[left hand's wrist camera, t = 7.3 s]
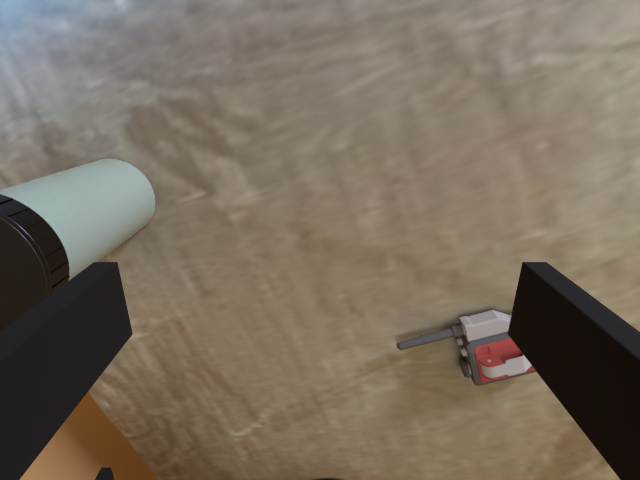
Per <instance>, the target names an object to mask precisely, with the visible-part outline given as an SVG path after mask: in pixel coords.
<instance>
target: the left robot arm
mask: <svg viewBox="0 0 640 480" xmlns="http://www.w3.org/2000/svg"><path fill="white" fill-rule="evenodd" d="M131 335H132V329H131V325H130V320H129V315H128V310H127V306H126V301H125V296H124V291H123V287H122V282H121V277H120V273H119V268H118V263H117V262H93V263H92V264H91V265H89V266H88V267H87V268H85V269H84V270H83V271H81V272H80V273H79V274H77V275H76V276H75V277H73V278H72V279H71V280H69V281H68V282H67V283H65V284H64V285H63V286H61V287H60V288H59V289H57V290H56V291H55V292H53V293H52V294H51V295H49V296H48V297H47V298H45V299H44V300H43V301H41V302H40V303H39V304H37V305H36V306H35V307H33V308H32V309H31V310H29V311H28V312H27V313H25V314H24V315H23V316H21V317H20V318H19V319H17V320H16V321H14V322H13V323H12V324H10V325H9V326H8V327H6V328H5V329H4V330H2V331H1V332H0V480H19V479H20V478H21V477H22V476H23V474H24V473H25V472H26V470H27V469H28V468H29V467H30V465H31V464H32V463H33V461H34V460H35V459H36V458H37V456H38V455H39V454H40V452H41V451H42V450H43V449H44V447H45V446H46V445H47V443H48V442H49V441H50V439H51V438H52V437H53V436H54V434H55V433H56V432H57V430H58V429H59V428H60V427H61V425H62V424H63V423H64V422H65V420H66V419H67V418H68V416H69V415H70V414H71V412H72V411H73V410H74V409H75V407H76V406H77V405H78V403H79V402H80V401H81V400H82V398H83V397H84V396H85V394H86V393H87V392H88V391H89V389H90V388H91V387H92V385H93V384H94V383H95V382H96V380H97V379H98V378H99V376H100V375H101V374H102V373H103V371H104V370H105V369H106V367H107V366H108V365H109V364H110V362H111V361H112V360H113V358H114V357H115V356H116V355H117V353H118V352H119V351H120V349H121V348H122V347H123V346H124V344H125V343H126V342H127V340H128V339H129V338H130V337H131ZM508 335H509V337H510V338H511V339H512V340H513V342H514V343H515V344H516V346H517V347H518V348H519V349H520V351H521V352H522V353H523V355H524V356H525V357H526V358H527V360H528V361H529V362H530V364H531V365H532V366H533V367H534V369H535V370H536V371H537V373H538V374H539V375H540V376H541V378H542V379H543V380H544V382H545V383H546V384H547V385H548V387H549V388H550V389H551V391H552V392H553V393H554V394H555V396H556V397H557V398H558V400H559V401H560V402H561V403H562V405H563V406H564V407H565V409H566V410H567V411H568V412H569V414H570V415H571V416H572V418H573V419H574V420H575V422H576V423H577V424H578V425H579V427H580V428H581V429H582V431H583V432H584V433H585V434H586V436H587V437H588V438H589V440H590V441H591V442H592V443H593V445H594V446H595V447H596V449H597V450H598V451H599V452H600V454H601V455H602V456H603V458H604V459H605V460H606V461H607V463H608V464H609V465H610V467H611V468H612V469H613V470H614V472H615V473H616V474H617V476H618V477H619V478H620V479H621V480H640V332H639V331H638V330H636V329H635V328H634V327H632V326H631V325H630V324H628V323H627V322H626V321H624V320H623V319H621V318H620V317H619V316H617V315H616V314H615V313H613V312H612V311H611V310H609V309H608V308H607V307H605V306H604V305H603V304H601V303H600V302H599V301H597V300H596V299H595V298H593V297H592V296H591V295H589V294H588V293H587V292H585V291H584V290H583V289H581V288H580V287H579V286H577V285H576V284H575V283H573V282H572V281H571V280H569V279H568V278H567V277H565V276H564V275H563V274H561V273H560V272H559V271H557V270H556V269H555V268H553V267H552V266H551V265H549V264H548V263H547V262H523V263H522V268H521V273H520V277H519V282H518V287H517V291H516V296H515V301H514V306H513V310H512V315H511V320H510V325H509V329H508Z"/></svg>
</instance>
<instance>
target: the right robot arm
mask: <svg viewBox="0 0 640 480" xmlns="http://www.w3.org/2000/svg"><path fill="white" fill-rule="evenodd" d="M95 480H114V477H113V473H112V470H111V468H101V470H100V472H99V473H98V475H97V477H96V479H95Z"/></svg>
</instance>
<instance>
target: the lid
mask: <svg viewBox="0 0 640 480" xmlns="http://www.w3.org/2000/svg"><path fill="white" fill-rule="evenodd" d="M69 269H70V268H69V261H68V257H67V253H66V251H65V248H64V246H63V244H62V242H61V240H60V238H59V237H58V235H57V234H56V232H55V231H54V230H53V228H52V227H51V226H50V225H49V224H48V223H47V222H46V221H45V220H44V218H42V217H41V216H40V215H39V214H38V213H36V212H35V211H34V210H32V209H31V208H30V207H28V206H26V205H24V204H23V203H21V202H19V201H17V200H15V199H13V198H10V197H8V196H5V195H2V194H0V332H1V331H2V330H4V329H5V328H6V327H8V326H9V325H10V324H12V323H13V322H14V321H16V320H17V319H19V318H20V317H21V316H23V315H24V314H25V313H27V312H28V311H29V310H31V309H32V308H33V307H35V306H36V305H37V304H39V303H40V302H41V301H43V300H44V299H45V298H47V297H48V296H49V295H51V294H52V293H53V292H55V291H56V290H57V289H59V288H60V287H61V286H63V285H64V284H65V283H67V282H68V281H69V277H70V276H69Z"/></svg>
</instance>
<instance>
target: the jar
mask: <svg viewBox="0 0 640 480" xmlns="http://www.w3.org/2000/svg"><path fill="white" fill-rule="evenodd" d="M0 194H2V195H5V196H8V197H10V198H13V199H15V200H17V201H19V202H21V203H23V204H24V205H26V206H28V207H30V208H31V209H32V210H34V211H35V212H36V213H38V214H39V215H40V216H41V217H42V218H44V220H45V221H46V222H47V223H48V224H49V225H50V226H51V227H52V228H53V230H54V231H55V232H56V234H57V235H58V237H59V238H60V240H61V242H62V244H63V246H64V248H65V251H66V253H67V257H68V261H69V268H70V269H69V276H70V277H69V280H71V279H72V278H73V277H75V276H76V275H77V274H79V273H80V272H81V271H83V270H84V269H85V268H87V267H88V266H89V265H91V264H92V263H93V262H99V261H100V260H101V259H103V258H104V257H105V256H107V255H108V254H109V253H111V252H112V251H113V250H114V249H116V248H117V247H118V246H120V245H121V244H122V243H124V242H125V241H126V240H128V239H129V238H130V237H132V236H133V235H134V234H135V233H137V232H138V231H139V230H141V229H142V228H143V227H145V226H146V225H147V224H148V223H149V221H150V220H151V218H152V217H153V214H154V211H155V204H156V203H155V194H154V191H153V188H152V186H151V184H150V182H149V181H148V179H147V178H146V177H145V175H144V174H143V173H142V172H141V171H140V170H138V169H137V168H136V167H134V166H133V165H131V164H129V163H127V162H124V161H122V160H118V159H100V160H97V161H94V162H90V163H87V164H84V165H81V166H77V167H74V168H71V169H67V170H64V171H61V172H58V173H54V174H51V175H48V176H44V177H41V178H38V179H34V180H31V181H28V182H25V183H21V184H18V185H15V186H11V187H8V188H5V189H2V190H0Z"/></svg>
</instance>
